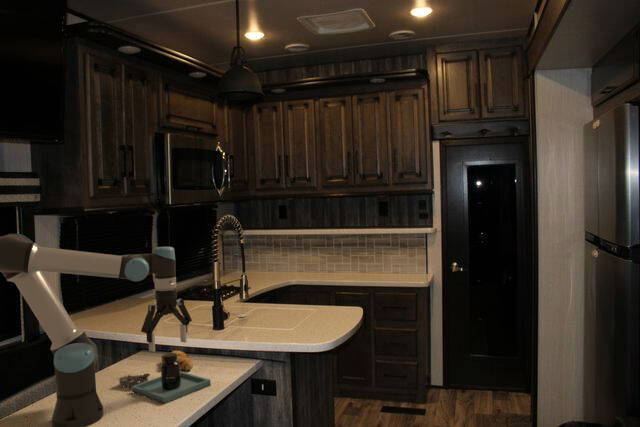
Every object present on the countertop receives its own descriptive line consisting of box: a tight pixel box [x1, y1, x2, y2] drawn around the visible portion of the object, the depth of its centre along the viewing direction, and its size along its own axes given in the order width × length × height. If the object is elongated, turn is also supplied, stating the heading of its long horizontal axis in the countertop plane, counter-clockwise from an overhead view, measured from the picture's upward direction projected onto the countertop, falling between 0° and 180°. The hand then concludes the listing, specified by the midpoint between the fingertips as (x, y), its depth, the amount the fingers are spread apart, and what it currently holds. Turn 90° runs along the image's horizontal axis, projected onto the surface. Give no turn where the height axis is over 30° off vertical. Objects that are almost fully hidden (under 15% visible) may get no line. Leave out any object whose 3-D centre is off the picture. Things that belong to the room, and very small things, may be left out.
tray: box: [131, 370, 212, 405], centre depth 190 cm, size 20×20×2 cm
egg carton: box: [117, 373, 151, 389], centre depth 197 cm, size 11×8×4 cm
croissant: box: [160, 350, 194, 371], centre depth 217 cm, size 21×10×8 cm, turn 50°
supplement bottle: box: [160, 352, 181, 390], centre depth 190 cm, size 7×7×12 cm
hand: (168, 346), depth 190 cm, fingers open, 13 cm apart
